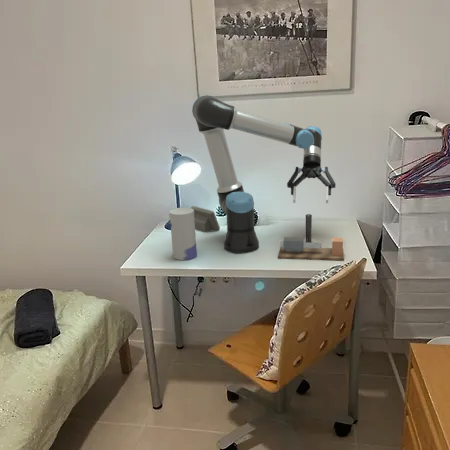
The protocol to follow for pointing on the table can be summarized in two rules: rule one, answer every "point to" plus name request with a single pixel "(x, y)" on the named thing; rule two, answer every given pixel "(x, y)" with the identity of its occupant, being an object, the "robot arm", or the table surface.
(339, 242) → the socket block
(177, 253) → the container
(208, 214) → the digital clock
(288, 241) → the outer sleeve
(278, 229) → the table surface
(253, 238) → the robot arm
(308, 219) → the sliding bolt
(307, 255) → the base board
